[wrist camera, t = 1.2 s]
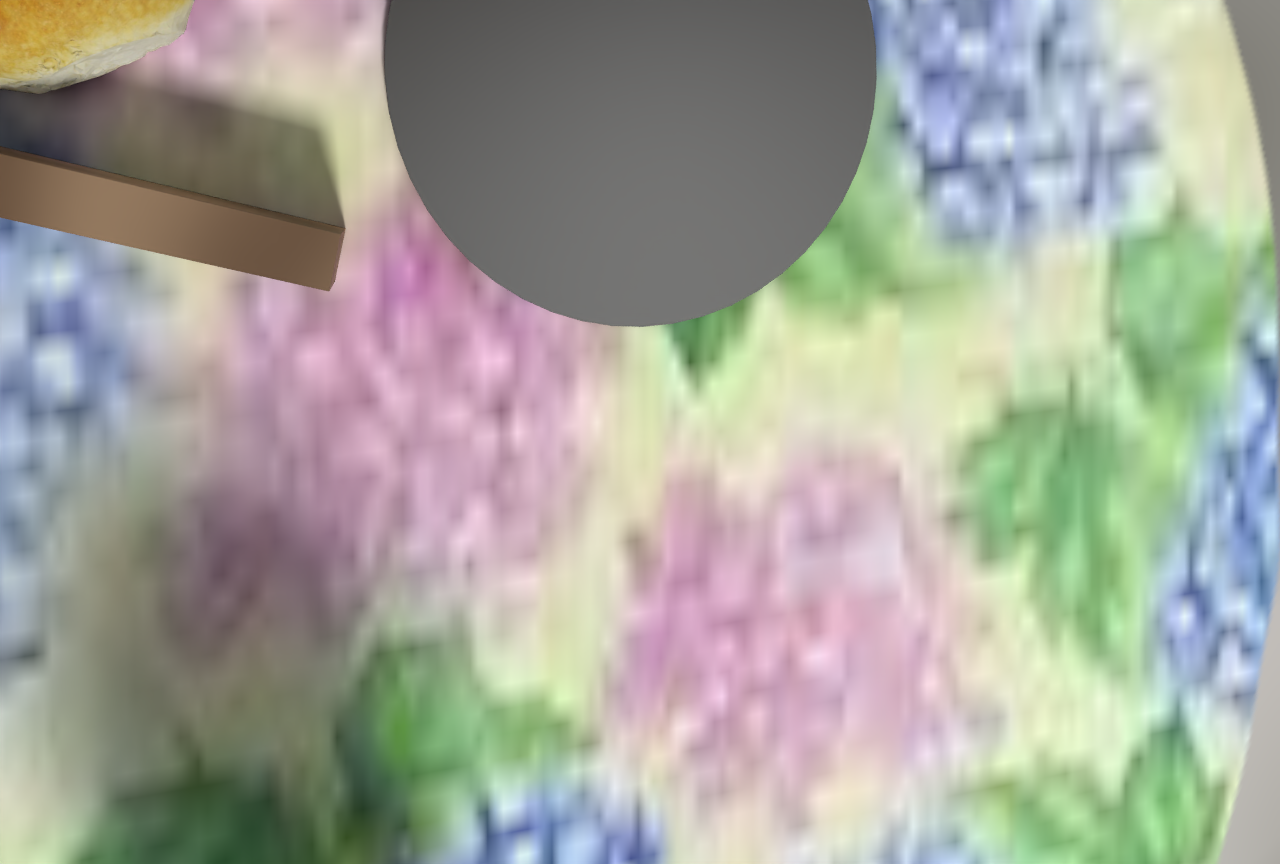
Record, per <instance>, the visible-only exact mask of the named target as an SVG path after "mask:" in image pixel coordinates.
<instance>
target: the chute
mask: <svg viewBox="0 0 1280 864" xmlns="http://www.w3.org/2000/svg"><path fill="white" fill-rule="evenodd" d="M0 218H5V219H9V220H14V221H18V222H23V223H27V224H32V225H36V226H40V227H45V228H49V229H54V230H58V231H63V232H67V233H72V234H76V235H80V236H85V237H89V238H94V239H98V240H103V241H107V242H112V243H116V244H121V245H125V246H129V247H134V248H138V249H143V250H147V251H152V252H156V253H161V254H165V255H170V256H174V257H178V258H183V259H187V260H192V261H196V262H201V263H205V264H210V265H214V266H218V267H223V268H227V269H232V270H236V271H241V272H245V273H250V274H254V275H259V276H263V277H267V278H272V279H276V280H281V281H285V282H290V283H294V284H299V285H303V286H308V287H312V288H316V289H321V290H325V291H330V289H331V287H332V285H333V284H334V282H335V278H336V273H337V268H338V263H339V258H340V253H341V248H342V243H343V238H344V233H345V229H346V228H342V227H337V226H333V225H329V224H325V223H321V222H316V221H312V220H308V219H304V218H300V217H295V216H291V215H287V214H283V213H279V212H274V211H270V210H266V209H262V208H258V207H253V206H249V205H245V204H241V203H237V202H232V201H228V200H224V199H220V198H216V197H211V196H207V195H203V194H199V193H195V192H190V191H186V190H182V189H178V188H174V187H169V186H165V185H161V184H157V183H152V182H148V181H144V180H140V179H136V178H131V177H127V176H123V175H119V174H115V173H110V172H106V171H102V170H98V169H94V168H89V167H85V166H81V165H77V164H73V163H68V162H64V161H60V160H56V159H52V158H47V157H43V156H39V155H35V154H31V153H26V152H22V151H18V150H14V149H10V148H5V147H1V146H0Z"/></svg>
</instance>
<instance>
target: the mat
mask: <svg viewBox="0 0 1280 864" xmlns="http://www.w3.org/2000/svg"><path fill="white" fill-rule="evenodd" d="M385 82H386V91H387V99H388V107H389V114H390V118H391V122H392V126H393V130H394V134H395V138H396V142H397V146H398V149H399V151H400V154H401V156H402V159H403V161H404V164H405V166H406V169H407V172H408V174H409V177H410V179H411V181H412V183H413V185H414V187H415V188H416V190H417V192H418V194H419V196H420V197H421V199H422V201H423V203H424V205H425V207H426V208H427V210H428V211H429V213H430V214H431V216H432V217H433V218H434V220H435V221H436V222H437V224H438V225H439V227H440V228H441V229H442V231H443V232H444V233H445V235H446V236H447V237H448V238H449V240H450V241H451V242H452V243H453V244H454V245H455V246H456V247H457V248H458V249H459V250H460V251H461V252H462V253H463V254H464V255H465V256H466V258H467V259H468V260H469V261H470V262H472V263H473V264H474V265H475V266H477V267H478V268H479V269H480V270H481V271H483V272H484V273H485V274H486V275H488V276H489V277H490V278H491V279H492V280H494V281H495V282H496V283H498V284H500V285H501V286H503V287H504V288H506V289H508V290H509V291H511V292H512V293H514V294H516V295H517V296H519V297H521V298H522V299H524V300H526V301H529V302H531V303H533V304H535V305H537V306H540V307H542V308H544V309H546V310H549V311H551V312H554V313H557V314H560V315H564V316H567V317H570V318H574V319H577V320H580V321H585V322H592V323H598V324H604V325H610V326H637V327H644V326H654V325H663V324H673V323H677V322H681V321H685V320H690V319H694V318H698V317H702V316H705V315H707V314H710V313H713V312H715V311H718V310H720V309H723V308H726V307H728V306H731V305H733V304H735V303H736V302H738V301H740V300H742V299H744V298H746V297H747V296H749V295H751V294H753V293H755V292H757V291H758V290H760V289H761V288H763V287H764V286H765V285H767V284H768V283H769V282H771V281H772V280H774V279H775V278H776V277H778V276H779V275H781V274H782V273H783V272H784V271H785V270H786V269H787V268H789V267H790V266H791V265H792V264H793V263H794V262H795V261H796V260H797V259H798V258H799V257H800V256H801V255H802V254H804V253H805V252H806V250H807V249H808V248H809V247H810V246H811V244H812V243H813V242H814V241H815V240H816V238H817V237H818V236H819V235H820V234H821V232H822V231H823V230H824V229H825V228H826V226H827V224H828V223H829V221H830V220H831V218H832V217H833V215H834V214H835V212H836V211H837V209H838V207H839V206H840V204H841V203H842V201H843V199H844V197H845V195H846V193H847V191H848V189H849V187H850V185H851V183H852V180H853V178H854V176H855V174H856V172H857V169H858V166H859V163H860V160H861V157H862V154H863V152H864V149H865V146H866V143H867V138H868V134H869V129H870V124H871V120H872V115H873V110H874V99H875V89H876V44H875V37H874V30H873V23H872V16H871V11H870V7H869V3H868V0H392V1H391V5H390V10H389V18H388V25H387V32H386V40H385Z"/></svg>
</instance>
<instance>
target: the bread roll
mask: <svg viewBox="0 0 1280 864" xmlns="http://www.w3.org/2000/svg"><path fill="white" fill-rule="evenodd" d="M194 1H195V0H0V89H7V90H12V91H22V92H28V93H35V94H41V93H46V92H48V91H50V90H56V89H59V88H62V87H66V86H70V85H73V84H76V83H79V82H82V81H86V80H89V79H92V78H96V77H99V76H102V75H104V74H106V73H109V72H111V71H114V70H115V69H117V68H119V67H121V66H122V65H126V64H130V63H131V62H134V61H136V60H138V59H140V58H142V57H144V56H145V55H146V54H147V53H148V52H151V51H155V50H157V49H158V48H160V47H162V46H167V45H170V44H171V43H172V42H173V41H175V40H176V39H177V38H178V37H179V36H180V35H182V34H184V32H185V30H186V26H187V22H188V18H189V15H190V12H191V9H192V6H193V3H194Z"/></svg>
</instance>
